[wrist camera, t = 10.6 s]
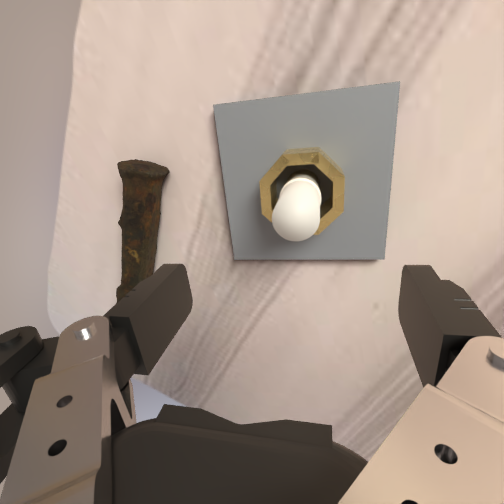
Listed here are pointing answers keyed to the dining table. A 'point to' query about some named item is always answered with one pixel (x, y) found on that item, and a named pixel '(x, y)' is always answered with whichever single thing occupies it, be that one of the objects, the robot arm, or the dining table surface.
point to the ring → (303, 157)
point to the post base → (304, 128)
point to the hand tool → (139, 220)
